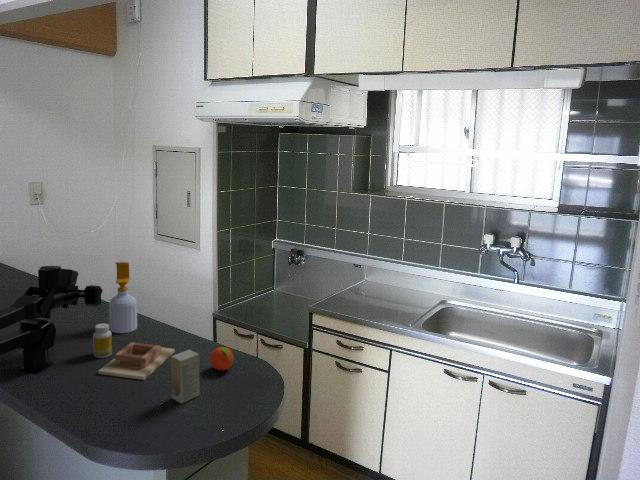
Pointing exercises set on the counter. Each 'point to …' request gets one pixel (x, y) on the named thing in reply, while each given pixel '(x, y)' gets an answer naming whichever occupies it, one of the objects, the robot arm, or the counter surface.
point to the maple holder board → (137, 361)
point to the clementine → (221, 358)
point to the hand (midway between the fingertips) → (89, 289)
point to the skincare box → (185, 376)
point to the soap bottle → (123, 304)
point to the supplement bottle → (102, 341)
